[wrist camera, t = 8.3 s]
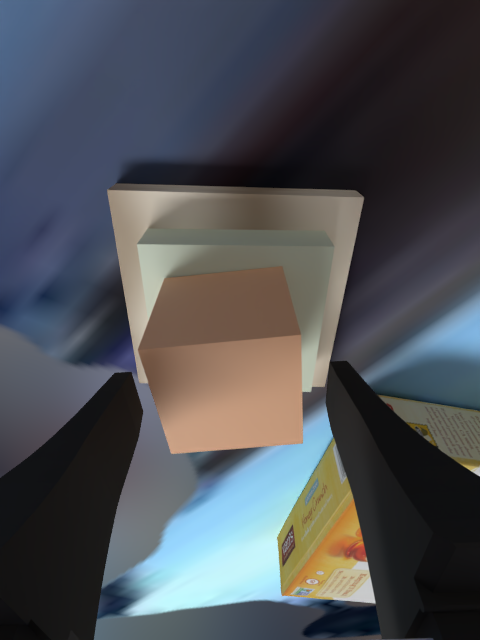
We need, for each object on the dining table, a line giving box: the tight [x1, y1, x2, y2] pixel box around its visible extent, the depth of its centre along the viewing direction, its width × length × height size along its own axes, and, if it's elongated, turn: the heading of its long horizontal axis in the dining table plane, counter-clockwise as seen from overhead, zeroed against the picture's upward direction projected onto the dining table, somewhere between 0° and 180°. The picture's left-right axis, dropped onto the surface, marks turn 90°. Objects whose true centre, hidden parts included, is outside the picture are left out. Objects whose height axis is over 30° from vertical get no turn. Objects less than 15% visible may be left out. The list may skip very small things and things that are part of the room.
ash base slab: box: [107, 183, 364, 387], centre depth 19 cm, size 11×11×2 cm
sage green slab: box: [137, 228, 335, 392], centre depth 17 cm, size 8×8×2 cm
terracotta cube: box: [138, 266, 303, 454], centre depth 14 cm, size 5×5×5 cm
